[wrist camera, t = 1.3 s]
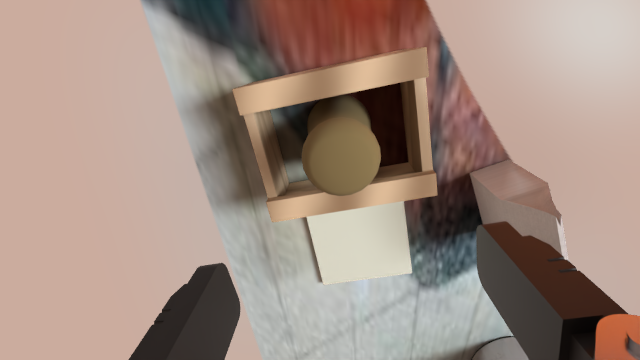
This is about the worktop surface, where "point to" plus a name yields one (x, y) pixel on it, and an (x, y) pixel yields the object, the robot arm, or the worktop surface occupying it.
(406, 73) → the open rectangular wooden frame
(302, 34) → the worktop surface
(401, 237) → the cream mat
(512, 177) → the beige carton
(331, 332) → the worktop surface
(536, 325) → the robot arm
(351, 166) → the cork
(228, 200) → the worktop surface
